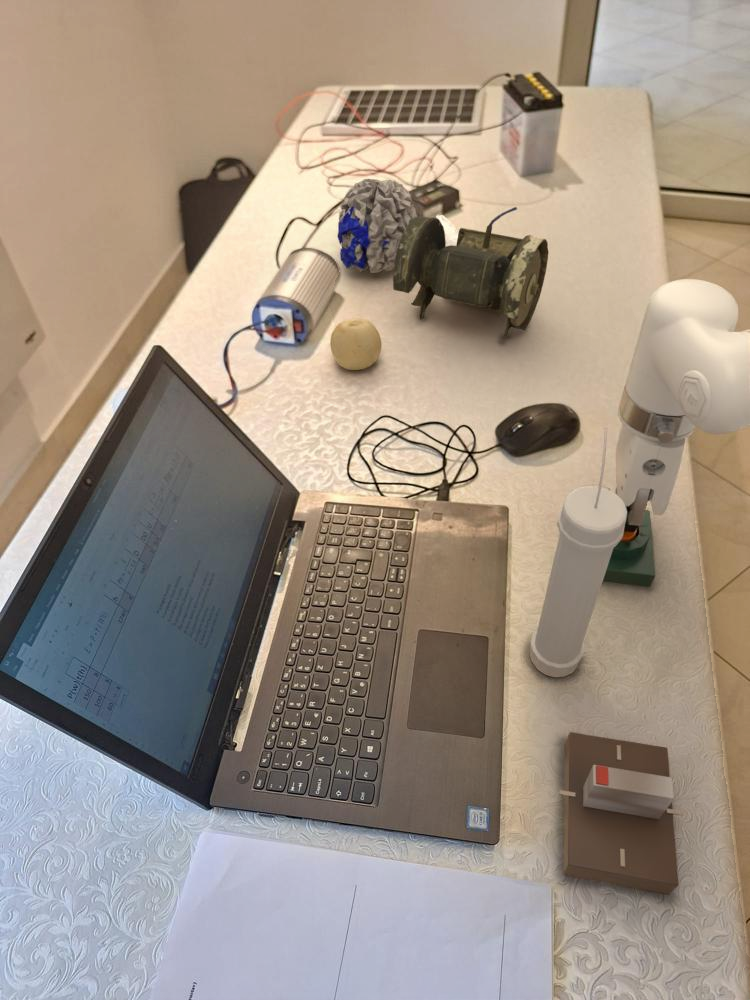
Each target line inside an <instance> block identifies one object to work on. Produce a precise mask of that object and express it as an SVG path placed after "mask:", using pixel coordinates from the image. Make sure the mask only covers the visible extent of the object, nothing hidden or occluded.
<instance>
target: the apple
mask: <svg viewBox="0 0 750 1000" xmlns="http://www.w3.org/2000/svg"><path fill="white" fill-rule="evenodd" d="M329 342H330V343H329V344H330V345H329V346H330V351H331V354H332V356H333V358H334V360H335V361H336V363H337V364H338V365H339V366H341V367H342V368H344V369H346V370H349V371H358V370H364V369H367V368H370V367H371V366H372V365H374V363H376V362H377V360H378V359H379V357H380V354H381V352H382V339H381V335H380V333H379V330H378V329H377V327H376V326H375V324H373V323H372V322H371V321H370V320H369V319H366V318H350V319H347V320H346V319H345V320H344V321H342V322H340V323H338V324H337V325H336V326H335V327H334V328H333V330H332V332H331V335H330V341H329Z"/></svg>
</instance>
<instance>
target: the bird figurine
mask: <svg viewBox="0 0 750 1000" xmlns="http://www.w3.org/2000/svg"><path fill="white" fill-rule="evenodd" d="M435 218H438V219H439V220H440V222H441V224H442V225H443V227H444V232H445V241H446V246H450V245H452V246H456V245H457V239H458V233H459V230H457V227H456V226H455V225H454V224H453V223H452V221H450V220H449V219H448V218H447V217H446V216H444V214H439V213H437V215H436V216H435Z"/></svg>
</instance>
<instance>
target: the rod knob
mask: <svg viewBox="0 0 750 1000" xmlns="http://www.w3.org/2000/svg"><path fill="white" fill-rule="evenodd" d="M674 799H675V793H674V781H673V777H671V776H670V777H665V776H659V775H653V774H647V773H641V772H635V771H629V770H623V769H617V768H611V767H605V766H598V765H593V767H592V769H591V771H590V773H589V775H588V778H587V780H586V782H585V784H584V786H583V806H585V807H590V808H596V809H602V810H607V811H613V812H619V813H625V814H630V815H636V816H642V817H648V818H653V819H660V817H661V816H662V815H663V813H664V812H665V810H666V809H667V808H668V806H669V805H670V804H671V802H672V803H673V801H674Z"/></svg>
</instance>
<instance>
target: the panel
mask: <svg viewBox="0 0 750 1000" xmlns="http://www.w3.org/2000/svg"><path fill="white" fill-rule="evenodd" d="M593 765H598V766H605V767H611V768H617V769H623V770H629V771H635V772H641V773H647V774H653V775H659V776H665V777H671V774H670V773H671V772H670V762H669V750H668V747H666V746H660V745H653V744H647V743H641V742H635V741H628V740H621V739H616V738H609V737H603V736H596V735H590V734H586V733H585V734H584V733H579V732H573V731H570V732H569V733H568V736H567V739H566V742H565V744H564V775H563V776H564V777H563V781H564V782H563V790H562V789H559V790H558V794H559V795H561V796H563V827H562V828H563V830H562V831H563V835H562V837H563V838H562V875H563V876H567V877H568V876H569V877H573V878H578V879H583V880H588V881H594V882H599V883H605V884H609V885H610V884H611V885H616V886H621V887H625V888H631V889H637V890H641V891H646V892H652V893H658V894H663V895H668V896H669V895H671V893H672V892H673V891H674V890H675V889H677V887H678V886H679V874H678V861H677V850H676V836H675V825H674V823H675V822H674V815H676V816H680V817H681V816H682V817H683V816H685V815H684V811H683V810H679V809H673V801H672V802H671V804H670V805H669V806H668V808H667V809H666V810H665V812H664V813H663V815H662V816H661V817H660V819H653V818H648V817H642V816H636V815H630V814H625V813H619V812H613V811H607V810H602V809H596V808H590V807H585V806H583V786H584V784H585V782H586V780H587V778H588V775H589V773H590V771H591V769H592V767H593Z"/></svg>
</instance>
